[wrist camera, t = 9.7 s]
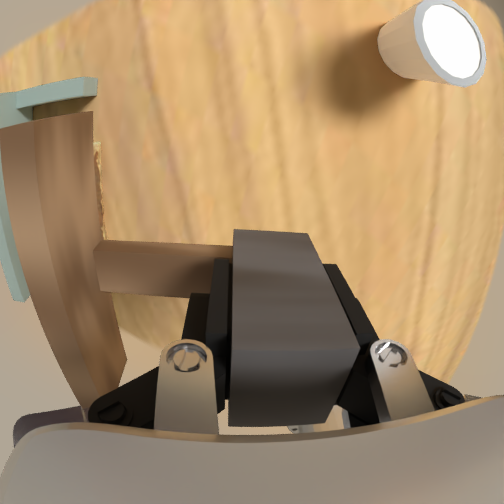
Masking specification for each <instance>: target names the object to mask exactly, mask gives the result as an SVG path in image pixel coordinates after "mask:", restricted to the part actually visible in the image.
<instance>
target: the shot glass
mask: <svg viewBox="0 0 504 504" xmlns="http://www.w3.org/2000/svg"><path fill="white" fill-rule="evenodd" d="M377 42H378V50H379V53H380V55H381V57H382V59H383V61H384V63H385V64H386V65H387V66H388V67H389V68H390V69H391V70H392V72H394V73H396V74H397V75H399V76H401V77H403V78H409V79H416V80H424V81H431V82H437V83H444V84H449V85H455V86H460V87H468V86H470V85H473V84H476V83H477V82H478V80H479V79H480V78H481V76H482V75H483V74H484V69H485V64H486V52H485V44H484V41H483V38H482V36H481V33H480V31H479V29H478V26H477V25H476V24H475V22H474V21H473V20H472V18H471V17H470V15H469V14H468V13H467V12H466V11H465V10H464V9H463V8H461V7H460V6H459V5H458V4H456V3H455V2H454V1H451V0H422V1H420V2H418V3H417V4H415V5H413V6H412V7H410V8H409V9H407V10H405V11H404V12H402V13H401V14H399V15H398V16H396V17H395V18H393V19H391V20H390V21H388V22H387V23H386V24H385V25H384V26H383V27H382V28H381V29H380V31H379V35H378V38H377Z"/></svg>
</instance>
